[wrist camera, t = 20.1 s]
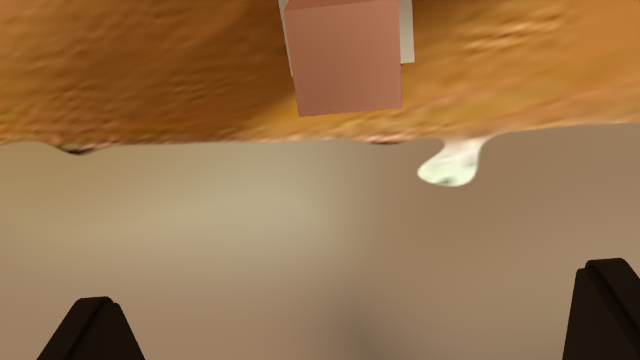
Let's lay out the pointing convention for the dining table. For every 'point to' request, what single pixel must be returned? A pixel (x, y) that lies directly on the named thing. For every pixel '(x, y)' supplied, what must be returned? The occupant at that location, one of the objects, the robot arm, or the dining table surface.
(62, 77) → the dining table surface
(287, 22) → the brick terracotta
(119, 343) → the robot arm
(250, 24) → the dining table surface
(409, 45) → the plate
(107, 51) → the dining table surface
